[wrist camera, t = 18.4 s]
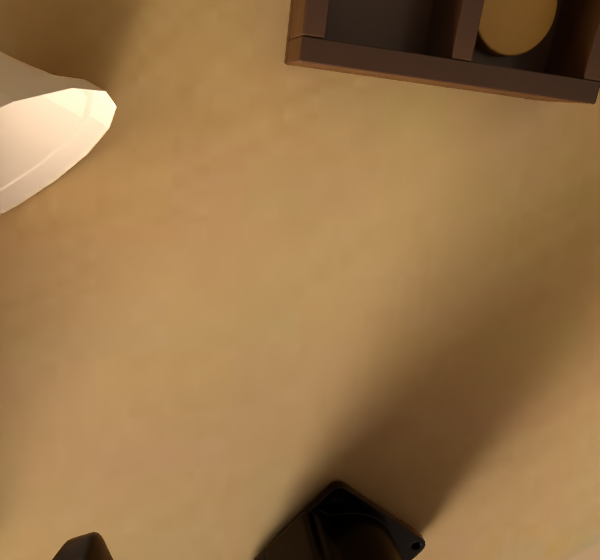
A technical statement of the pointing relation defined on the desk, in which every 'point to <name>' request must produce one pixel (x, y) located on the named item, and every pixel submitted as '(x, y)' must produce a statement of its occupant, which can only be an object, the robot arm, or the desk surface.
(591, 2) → the token tray
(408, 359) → the desk surface
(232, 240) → the desk surface
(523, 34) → the brass token
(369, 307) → the desk surface
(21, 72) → the beige flared rod
